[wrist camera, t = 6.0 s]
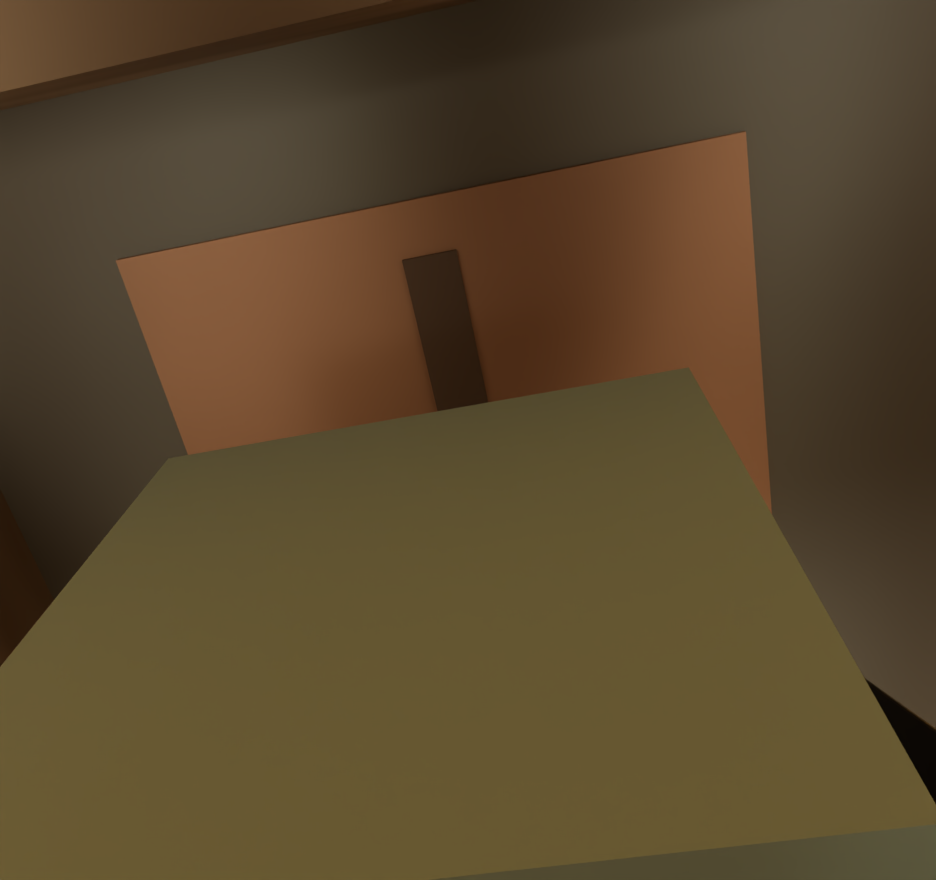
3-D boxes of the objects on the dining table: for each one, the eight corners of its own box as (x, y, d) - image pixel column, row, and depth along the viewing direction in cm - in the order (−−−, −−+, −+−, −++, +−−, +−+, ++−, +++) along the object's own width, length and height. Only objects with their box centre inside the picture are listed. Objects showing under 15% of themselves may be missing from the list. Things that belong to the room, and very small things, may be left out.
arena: (1004, -251, 9) (1275, -410, 6) (960, 803, 15) (1081, 1006, 12) (-274, 65, 11) (-600, 74, 8) (149, 893, 17) (67, 1090, 14)
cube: (732, 775, 10) (938, 1446, 5) (310, 825, 10) (149, 1469, 6) (689, 367, 8) (966, 860, 3) (167, 458, 8) (-258, 987, 4)
